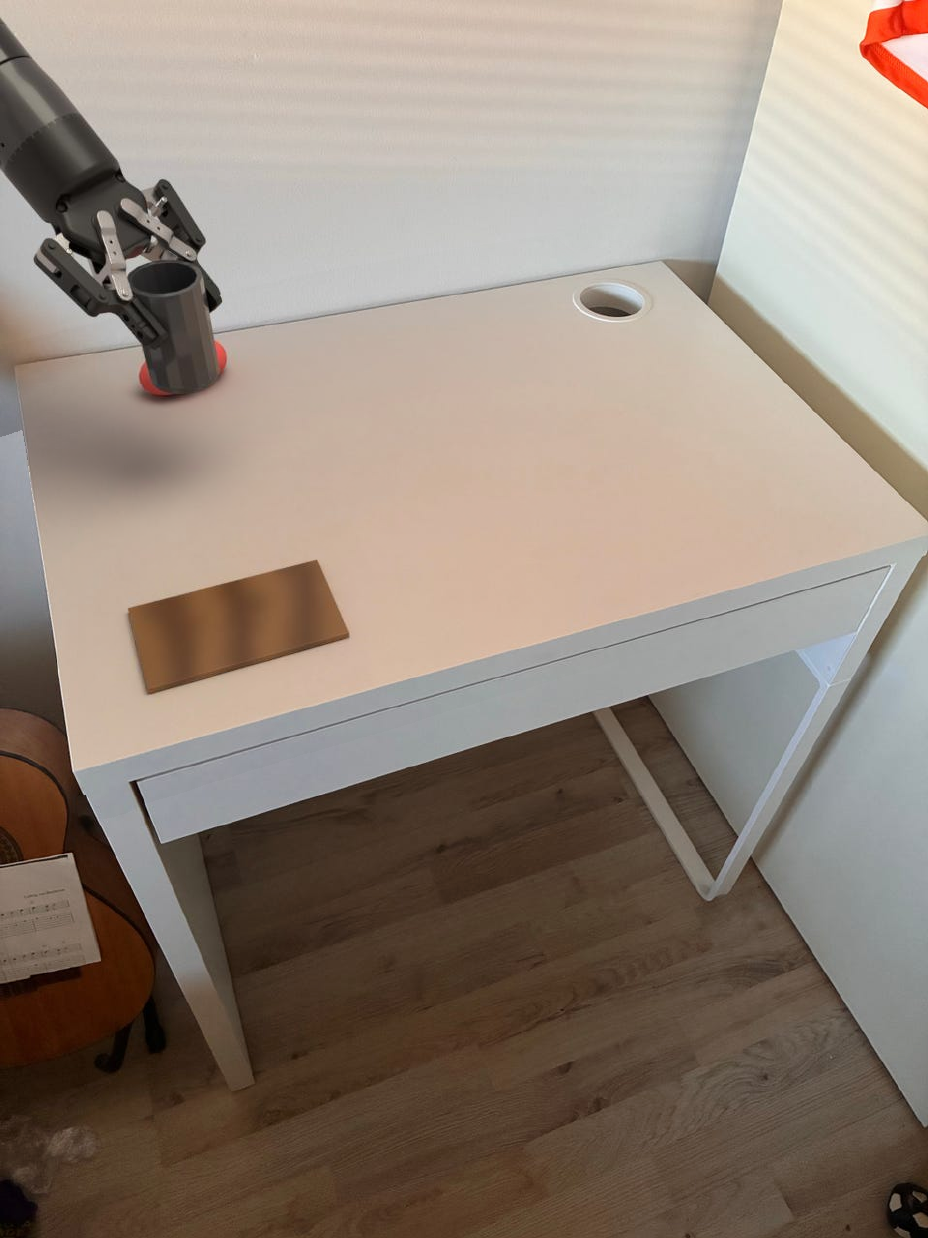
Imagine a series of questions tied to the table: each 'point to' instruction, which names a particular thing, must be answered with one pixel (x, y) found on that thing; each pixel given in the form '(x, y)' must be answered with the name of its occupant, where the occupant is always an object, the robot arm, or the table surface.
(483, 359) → the table surface
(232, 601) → the plate
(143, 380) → the stress ball
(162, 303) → the open gray tube
